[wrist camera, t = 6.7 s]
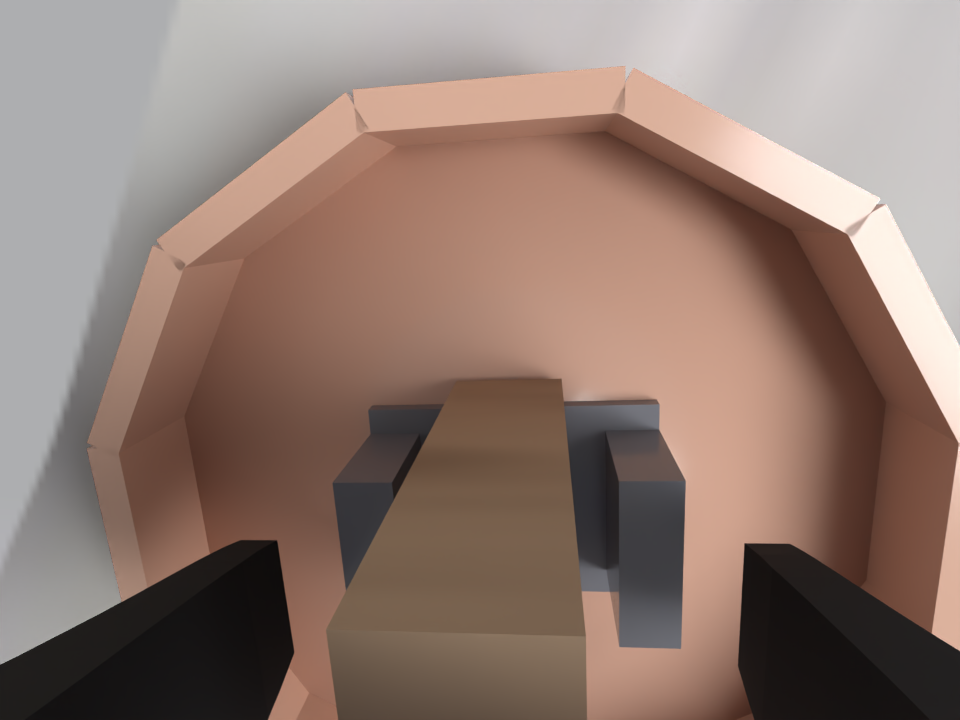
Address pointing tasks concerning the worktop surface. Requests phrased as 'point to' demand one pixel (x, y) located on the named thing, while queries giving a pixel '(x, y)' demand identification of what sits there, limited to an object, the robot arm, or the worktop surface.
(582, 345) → the candle dish
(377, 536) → the tan rectangular block
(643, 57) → the worktop surface
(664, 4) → the worktop surface
